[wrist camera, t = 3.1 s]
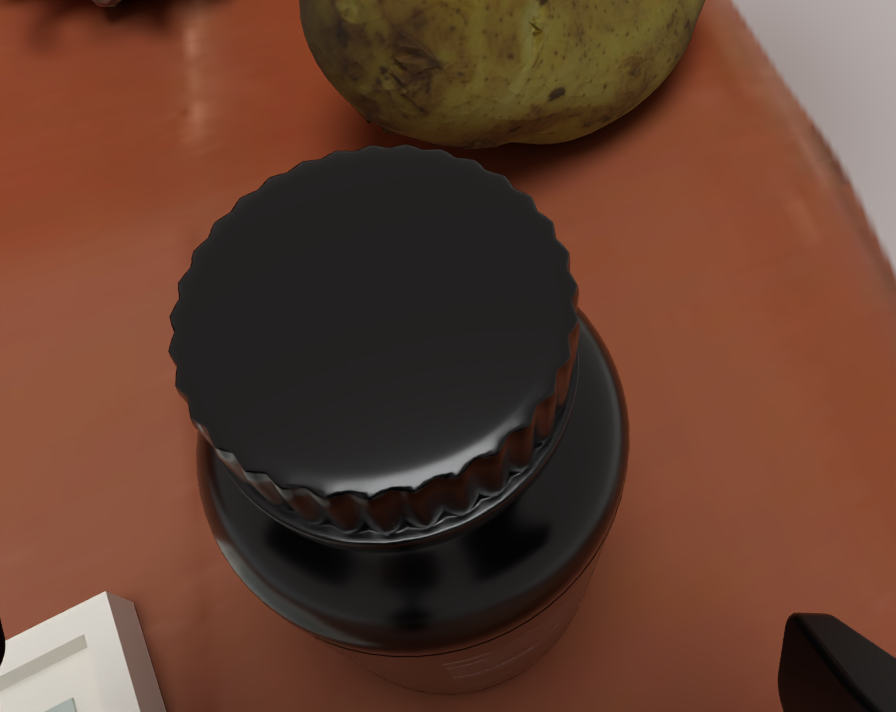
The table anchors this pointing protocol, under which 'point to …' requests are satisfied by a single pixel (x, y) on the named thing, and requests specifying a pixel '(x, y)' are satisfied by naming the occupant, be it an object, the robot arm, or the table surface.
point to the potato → (496, 63)
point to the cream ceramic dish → (81, 663)
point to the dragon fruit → (106, 3)
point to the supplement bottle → (402, 413)
